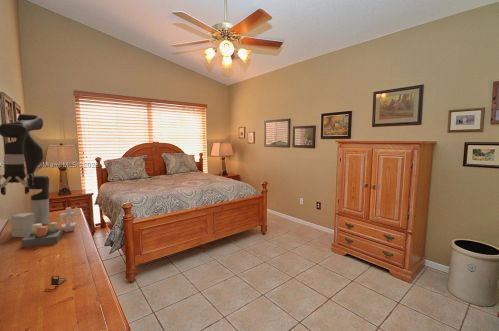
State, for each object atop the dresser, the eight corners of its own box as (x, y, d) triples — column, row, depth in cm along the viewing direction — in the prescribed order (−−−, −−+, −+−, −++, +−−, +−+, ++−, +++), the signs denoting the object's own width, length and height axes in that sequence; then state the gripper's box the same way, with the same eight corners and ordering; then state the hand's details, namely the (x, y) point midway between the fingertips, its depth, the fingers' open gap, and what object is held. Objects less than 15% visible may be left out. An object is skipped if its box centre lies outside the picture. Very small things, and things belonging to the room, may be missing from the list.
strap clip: (60, 279, 100) (60, 270, 100) (67, 280, 100) (67, 270, 100) (42, 291, 91) (42, 281, 91) (50, 292, 91) (50, 281, 91)
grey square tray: (30, 238, 139) (30, 231, 139) (62, 234, 147) (62, 228, 146) (21, 247, 127) (21, 240, 127) (57, 243, 134) (57, 236, 134)
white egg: (33, 234, 138) (33, 223, 138) (43, 233, 141) (42, 223, 140) (30, 236, 135) (30, 226, 134) (40, 235, 137) (40, 225, 136)
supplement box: (35, 233, 147) (34, 213, 146) (22, 237, 140) (22, 216, 139) (24, 232, 148) (23, 212, 147) (11, 236, 141) (10, 215, 140)
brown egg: (38, 236, 135) (37, 226, 134) (48, 235, 137) (47, 225, 136) (35, 239, 131) (35, 228, 130) (45, 238, 133) (45, 227, 133)
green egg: (48, 232, 142) (48, 222, 141) (58, 231, 144) (57, 221, 143) (46, 234, 138) (46, 224, 138) (56, 233, 140) (56, 223, 140)
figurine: (58, 230, 154) (58, 207, 153) (76, 227, 160) (76, 205, 159) (60, 233, 149) (60, 209, 148) (78, 230, 155) (78, 207, 154)
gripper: (34, 162, 129) (35, 192, 130) (-2, 162, 122) (-1, 193, 123) (30, 163, 123) (31, 194, 124) (-9, 163, 115) (-8, 196, 117)
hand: (15, 194), depth 123 cm, fingers open, 8 cm apart
